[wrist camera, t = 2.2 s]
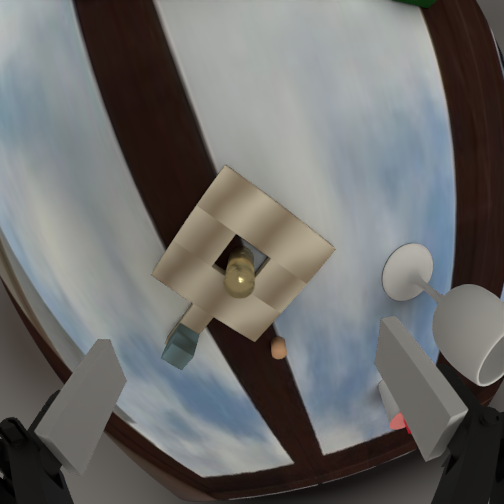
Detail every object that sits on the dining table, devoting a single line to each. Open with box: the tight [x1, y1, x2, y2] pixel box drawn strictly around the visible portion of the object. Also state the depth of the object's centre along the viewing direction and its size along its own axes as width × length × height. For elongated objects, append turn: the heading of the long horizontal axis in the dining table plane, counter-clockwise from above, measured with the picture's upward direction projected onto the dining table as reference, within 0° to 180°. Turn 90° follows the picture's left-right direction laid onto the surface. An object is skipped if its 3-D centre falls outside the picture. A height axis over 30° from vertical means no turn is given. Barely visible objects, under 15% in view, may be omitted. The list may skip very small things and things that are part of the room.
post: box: [224, 246, 255, 299], centre depth 32 cm, size 3×3×8 cm
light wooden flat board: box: [151, 165, 336, 370], centre depth 34 cm, size 16×24×6 cm, turn 143°
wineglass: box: [382, 243, 504, 386], centre depth 27 cm, size 9×9×21 cm
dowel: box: [271, 337, 287, 359], centre depth 39 cm, size 2×2×3 cm
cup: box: [378, 380, 411, 433], centre depth 38 cm, size 5×5×12 cm
